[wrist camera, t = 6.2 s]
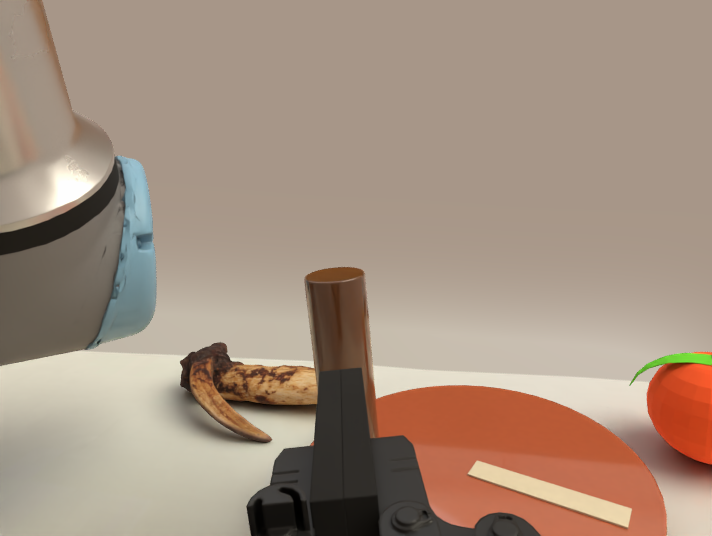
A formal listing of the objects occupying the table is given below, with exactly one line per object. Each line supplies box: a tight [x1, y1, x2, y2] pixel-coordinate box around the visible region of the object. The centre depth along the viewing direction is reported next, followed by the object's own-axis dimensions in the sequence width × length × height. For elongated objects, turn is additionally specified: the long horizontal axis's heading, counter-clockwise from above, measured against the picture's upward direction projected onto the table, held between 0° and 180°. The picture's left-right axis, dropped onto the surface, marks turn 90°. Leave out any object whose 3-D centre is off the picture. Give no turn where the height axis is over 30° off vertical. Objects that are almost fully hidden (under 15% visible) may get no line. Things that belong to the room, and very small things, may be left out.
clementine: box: [629, 352, 712, 464], centre depth 31 cm, size 8×7×7 cm
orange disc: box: [304, 267, 667, 536], centre depth 27 cm, size 20×20×14 cm
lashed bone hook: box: [180, 343, 318, 442], centre depth 42 cm, size 9×5×18 cm
